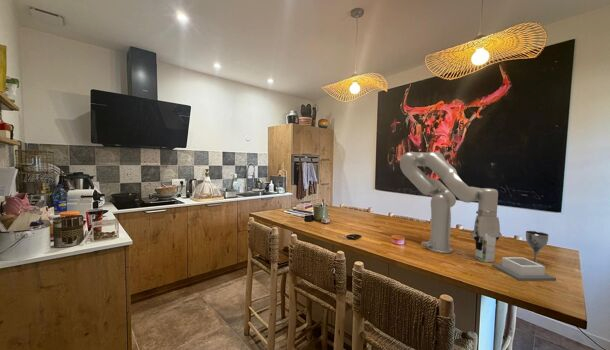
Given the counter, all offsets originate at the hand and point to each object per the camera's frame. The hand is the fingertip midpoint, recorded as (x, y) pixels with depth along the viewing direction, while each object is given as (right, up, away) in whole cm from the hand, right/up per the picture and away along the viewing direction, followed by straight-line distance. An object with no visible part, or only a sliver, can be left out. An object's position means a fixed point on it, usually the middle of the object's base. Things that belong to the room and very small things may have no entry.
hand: (485, 249), depth 122 cm
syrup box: (0, -6, 0) cm, 6 cm away
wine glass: (+22, -6, -3) cm, 23 cm away
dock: (+6, -6, -13) cm, 16 cm away
